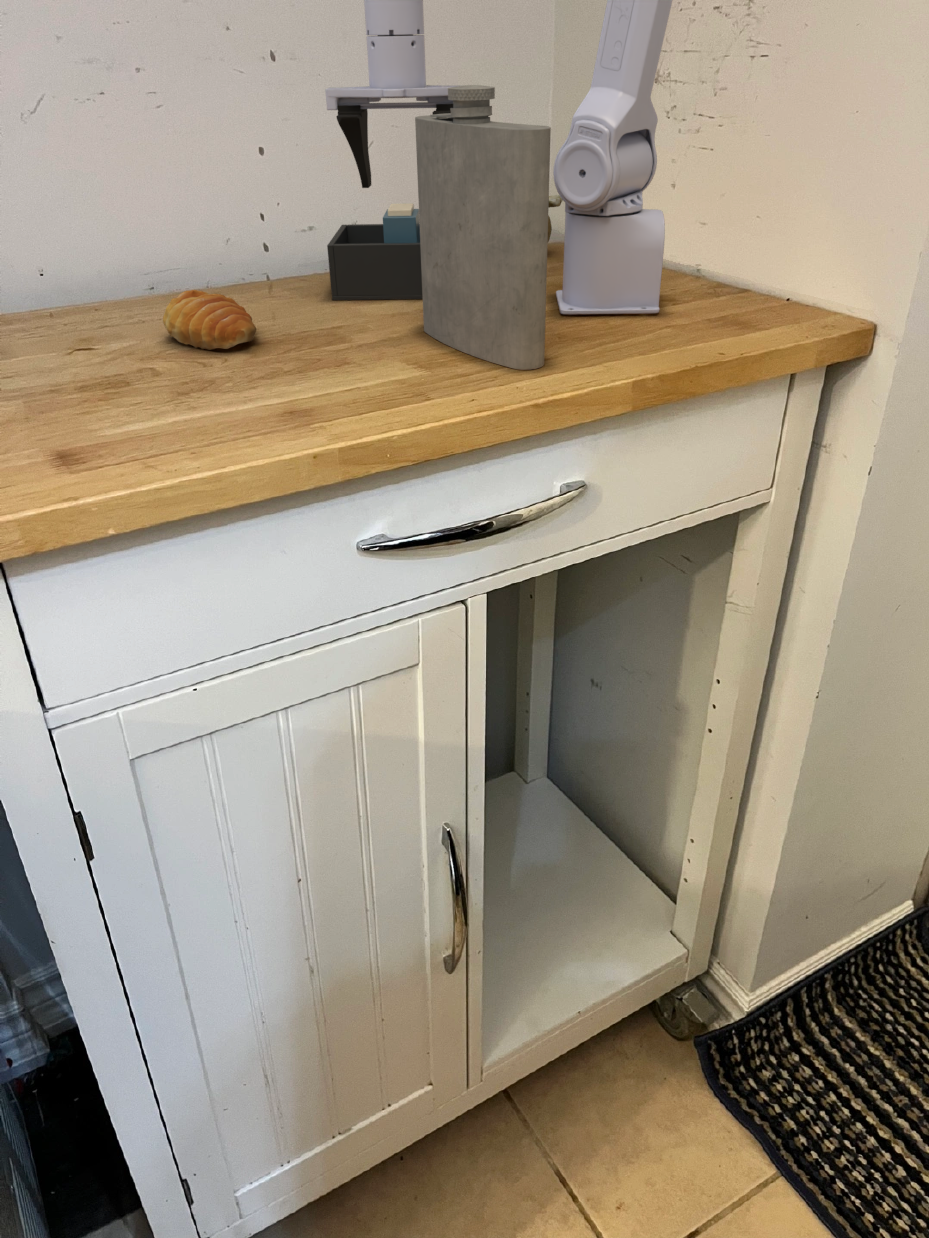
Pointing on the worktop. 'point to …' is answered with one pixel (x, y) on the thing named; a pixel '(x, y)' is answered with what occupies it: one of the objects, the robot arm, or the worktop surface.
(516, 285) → the hip flask
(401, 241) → the juice carton
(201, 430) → the worktop surface
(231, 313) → the pastry
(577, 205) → the robot arm
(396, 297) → the bin
